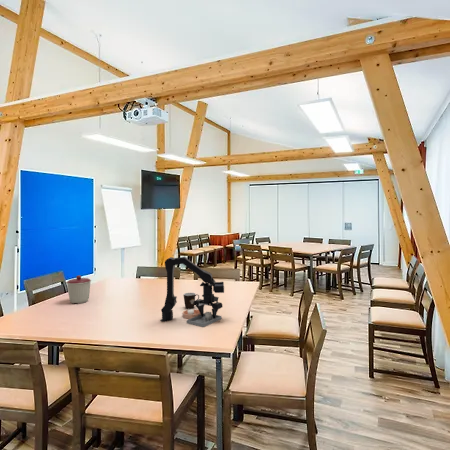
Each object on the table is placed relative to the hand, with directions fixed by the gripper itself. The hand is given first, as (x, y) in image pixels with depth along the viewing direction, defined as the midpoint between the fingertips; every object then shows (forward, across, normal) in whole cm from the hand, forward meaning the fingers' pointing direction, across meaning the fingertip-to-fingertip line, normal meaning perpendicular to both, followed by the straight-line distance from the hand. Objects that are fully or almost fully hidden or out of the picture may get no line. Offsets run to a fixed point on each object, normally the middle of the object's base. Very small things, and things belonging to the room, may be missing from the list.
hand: (208, 317), depth 203 cm
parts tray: (+2, 0, +4) cm, 4 cm away
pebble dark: (+1, 0, 0) cm, 1 cm away
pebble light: (+1, +13, +2) cm, 13 cm away
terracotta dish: (+2, +13, 0) cm, 14 cm away
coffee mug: (+2, +28, -16) cm, 32 cm away
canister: (+2, +115, +19) cm, 117 cm away
